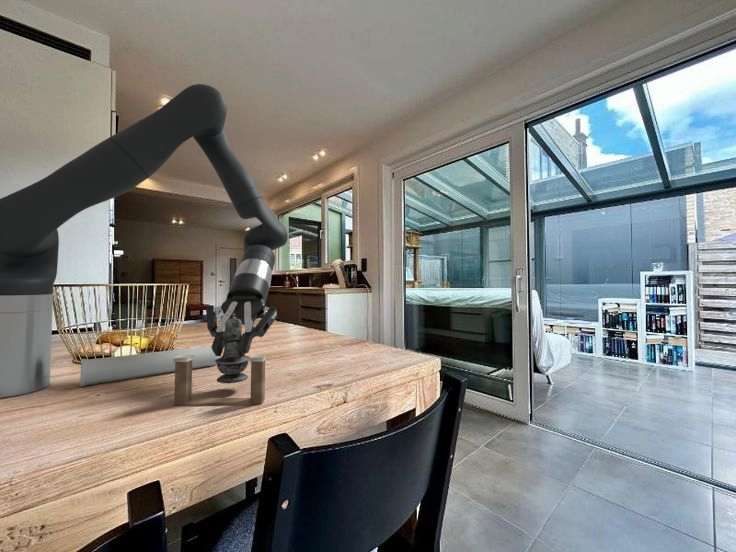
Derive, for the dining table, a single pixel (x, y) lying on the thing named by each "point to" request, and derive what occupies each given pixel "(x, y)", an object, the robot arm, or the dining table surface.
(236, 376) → the salt shaker
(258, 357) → the walnut gate
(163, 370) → the tube
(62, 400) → the dining table surface
